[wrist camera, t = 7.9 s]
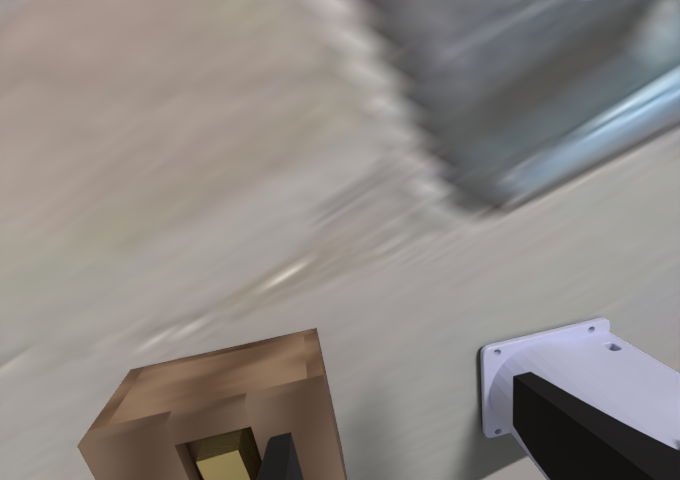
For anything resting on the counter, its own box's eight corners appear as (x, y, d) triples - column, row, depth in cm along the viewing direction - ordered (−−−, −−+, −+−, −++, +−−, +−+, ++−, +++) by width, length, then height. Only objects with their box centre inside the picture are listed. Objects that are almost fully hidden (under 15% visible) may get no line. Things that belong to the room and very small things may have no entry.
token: (249, 383, 20) (238, 450, 15) (271, 443, 21) (266, 519, 17) (216, 392, 20) (195, 462, 15) (241, 452, 21) (228, 531, 17)
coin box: (316, 328, 20) (325, 386, 15) (341, 448, 23) (355, 528, 18) (130, 369, 19) (76, 446, 14) (183, 490, 22) (153, 586, 17)
